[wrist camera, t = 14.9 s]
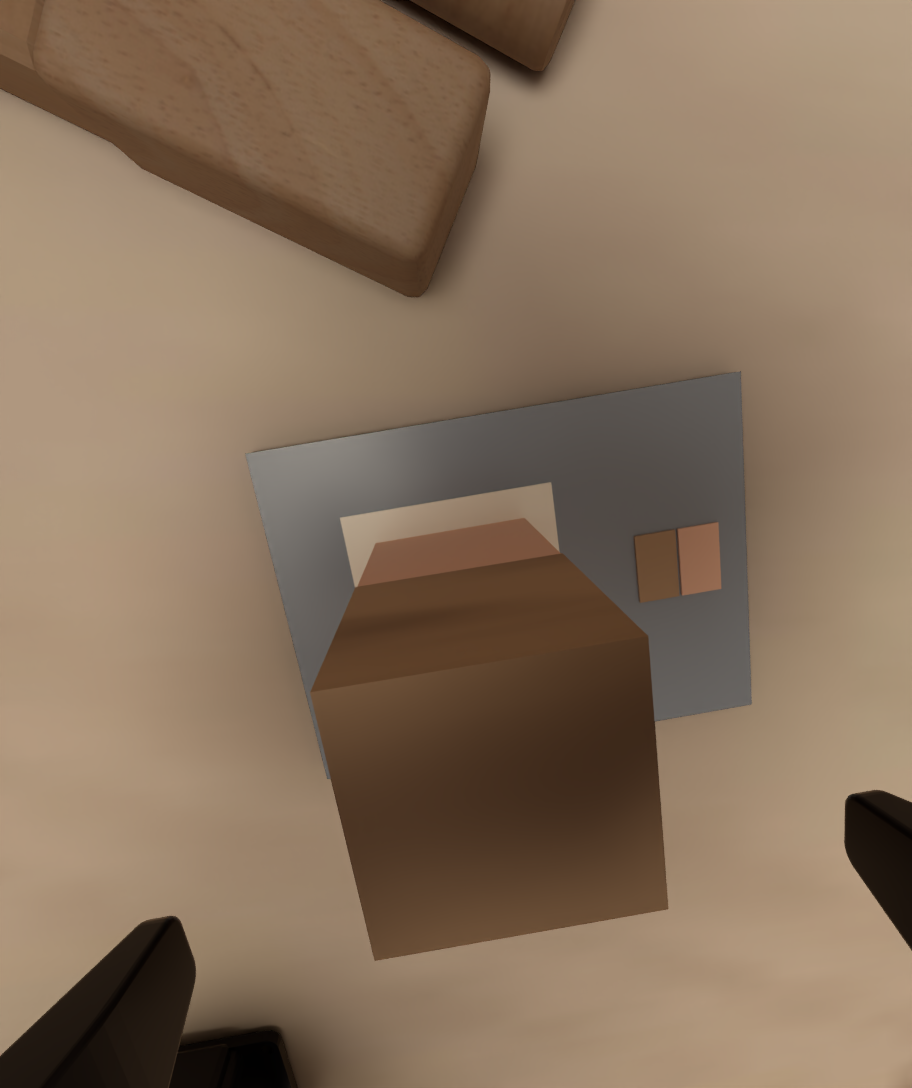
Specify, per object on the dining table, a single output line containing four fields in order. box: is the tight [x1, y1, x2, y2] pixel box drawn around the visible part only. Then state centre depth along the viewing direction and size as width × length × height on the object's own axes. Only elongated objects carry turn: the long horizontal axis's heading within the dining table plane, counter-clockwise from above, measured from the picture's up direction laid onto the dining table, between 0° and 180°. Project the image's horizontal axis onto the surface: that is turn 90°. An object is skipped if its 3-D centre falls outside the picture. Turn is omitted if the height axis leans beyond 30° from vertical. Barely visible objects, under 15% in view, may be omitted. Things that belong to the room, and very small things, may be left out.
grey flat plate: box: [246, 371, 752, 779], centre depth 18 cm, size 12×16×1 cm
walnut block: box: [310, 553, 668, 961], centre depth 11 cm, size 5×5×5 cm
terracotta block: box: [357, 518, 561, 587], centre depth 16 cm, size 5×5×5 cm
